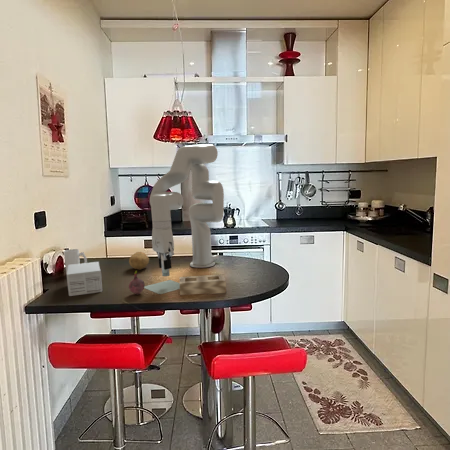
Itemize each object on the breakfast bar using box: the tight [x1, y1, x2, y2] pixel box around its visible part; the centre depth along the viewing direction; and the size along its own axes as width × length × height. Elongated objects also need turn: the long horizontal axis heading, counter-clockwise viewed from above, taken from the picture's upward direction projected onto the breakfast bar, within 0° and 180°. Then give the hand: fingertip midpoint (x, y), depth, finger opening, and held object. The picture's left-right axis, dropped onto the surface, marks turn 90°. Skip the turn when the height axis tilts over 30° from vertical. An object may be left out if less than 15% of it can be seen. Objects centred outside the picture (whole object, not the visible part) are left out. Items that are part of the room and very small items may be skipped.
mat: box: [144, 279, 180, 295], centre depth 158 cm, size 14×14×1 cm
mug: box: [63, 248, 88, 275], centre depth 183 cm, size 10×7×12 cm, turn 98°
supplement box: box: [66, 261, 103, 297], centre depth 161 cm, size 17×13×9 cm
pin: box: [161, 253, 170, 277], centre depth 158 cm, size 3×3×10 cm
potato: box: [128, 251, 150, 271], centre depth 190 cm, size 10×14×8 cm
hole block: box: [179, 273, 227, 296], centre depth 152 cm, size 18×9×5 cm, turn 97°
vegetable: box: [128, 270, 146, 295], centre depth 149 cm, size 6×6×10 cm
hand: (165, 267), depth 158 cm, fingers closed on pin, 3 cm apart
